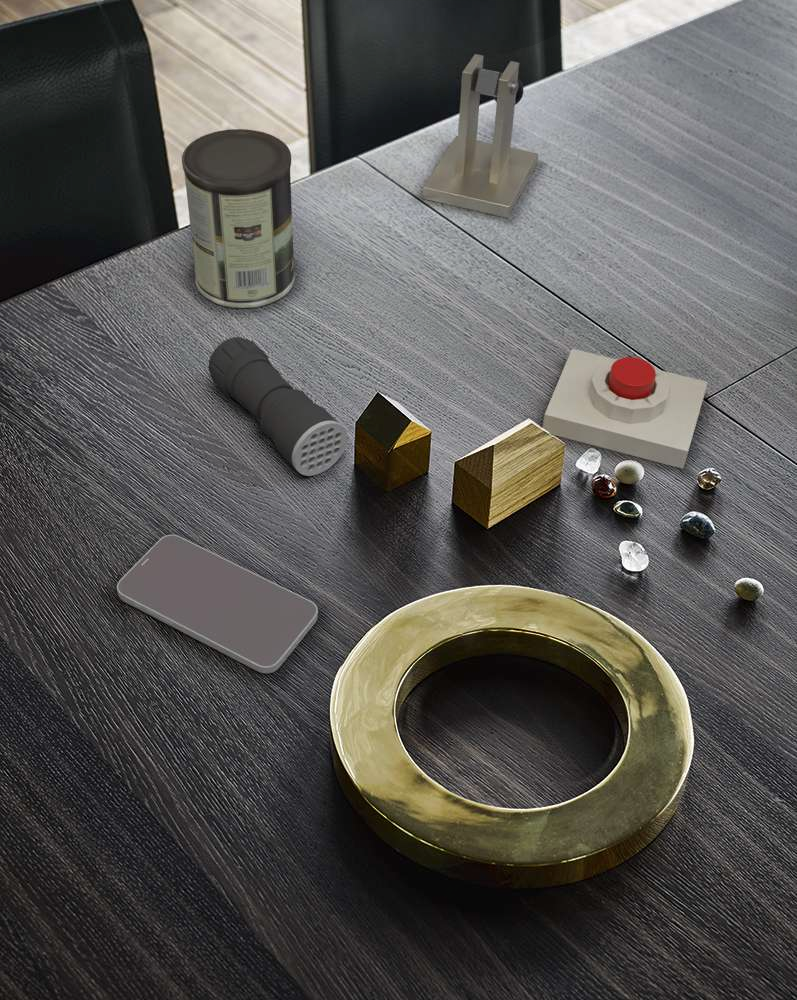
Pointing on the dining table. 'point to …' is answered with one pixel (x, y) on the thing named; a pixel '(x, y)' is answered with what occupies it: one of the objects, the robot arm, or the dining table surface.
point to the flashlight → (278, 406)
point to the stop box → (625, 411)
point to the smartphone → (218, 603)
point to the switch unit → (483, 153)
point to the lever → (494, 84)
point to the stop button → (631, 378)
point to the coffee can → (240, 217)
